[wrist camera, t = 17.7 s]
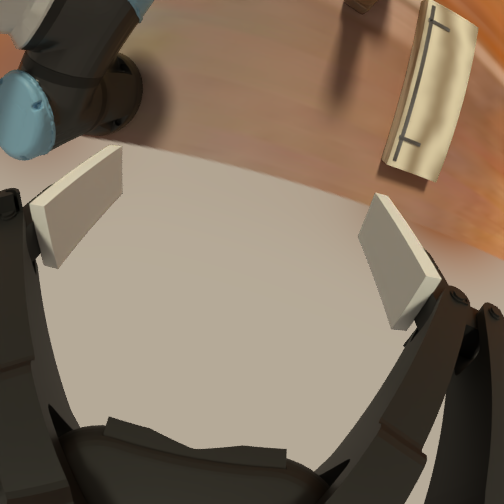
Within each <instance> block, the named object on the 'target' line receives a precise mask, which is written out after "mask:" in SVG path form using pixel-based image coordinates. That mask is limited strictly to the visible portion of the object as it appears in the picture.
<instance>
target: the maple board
mask: <svg viewBox="0 0 504 504" xmlns="http://www.w3.org/2000/svg"><path fill="white" fill-rule="evenodd" d="M477 33H478V27H477V26H475V25H474V24H472V23H470V22H469V21H467V20H466V19H464V18H463V17H461V16H459V15H458V14H456V13H454V12H453V11H451V10H449V9H448V8H446V7H444V6H442V5H440V4H439V3H437V2H435V1H433V0H424V1H421V6H420V11H419V17H418V22H417V27H416V32H415V37H414V42H413V47H412V51H411V55H410V60H409V64H408V68H407V72H406V76H405V80H404V84H403V88H402V92H401V95H400V99H399V103H398V106H397V110H396V113H395V117H394V120H393V123H392V127H391V130H390V133H389V136H388V140H387V143H386V146H385V149H384V152H383V155H382V158H381V160H383V161H384V162H385V163H386V164H387V165H390V166H392V167H395V168H398V169H401V170H404V171H407V172H409V173H412V174H415V175H418V176H420V177H423V178H425V179H428V180H431V181H433V182H436V181H437V179H438V176H439V174H440V171H441V168H442V166H443V163H444V160H445V157H446V154H447V152H448V149H449V146H450V143H451V140H452V137H453V134H454V130H455V127H456V124H457V121H458V117H459V114H460V110H461V107H462V103H463V100H464V96H465V92H466V88H467V84H468V80H469V75H470V71H471V66H472V61H473V56H474V51H475V46H476V40H477Z"/></svg>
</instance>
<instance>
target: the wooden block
mask: <svg viewBox="0 0 504 504" xmlns="http://www.w3.org/2000/svg"><path fill="white" fill-rule="evenodd" d="M377 1H378V0H344V2H345V3H346V4H347V5H349V6H350V7H352V8H353V9H355V10H356V11H358V12H359V13H361V14H364V13H365V12H367V11H369V9H370V8H371V7H372V6H373V5H374V3H375V2H377Z"/></svg>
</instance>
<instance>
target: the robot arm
mask: <svg viewBox="0 0 504 504" xmlns="http://www.w3.org/2000/svg"><path fill="white" fill-rule="evenodd" d="M153 2H154V0H0V33H2V34H8V35H9V36H10V37H11V39H12V41H13V43H14V45H15V47H16V48H17V49H22V50H26V51H25V53H24V55H23V58H22V60H21V62H20V65H19V68H18V69H17V70H12V71H10V72H8V73H7V74H6V75H4V77H3V78H1V79H0V147H1V148H2V149H3V150H4V151H5V152H6V153H7V154H8V155H9V156H11V157H13V158H15V159H18V160H30V159H32V158H35V157H37V156H39V155H45V154H47V153H48V152H49V151H51V150H53V149H55V148H57V147H59V146H60V145H62V144H64V143H66V142H68V141H70V140H72V139H74V138H76V137H79V136H81V135H83V134H86V135H94V136H101V135H107V134H110V133H112V132H115V131H117V130H119V129H121V128H122V127H124V126H125V125H126V124H127V123H129V122H130V120H131V119H132V118H133V117H134V115H135V114H136V112H137V110H138V108H139V105H140V102H141V98H142V79H141V75H140V73H139V70H138V68H137V67H136V65H135V64H134V62H133V61H132V60H131V59H130V58H128V57H127V56H125V55H123V54H121V53H118V52H119V50H120V49H121V47H122V46H123V44H124V43H125V41H126V40H127V38H128V37H129V35H130V34H131V32H132V31H133V30H134V28H135V27H136V25H137V24H138V23H141V21H142V20H143V16H144V14H145V13H146V11H147V10H148V9H149V7H150V6H151V4H152V3H153ZM121 194H122V146H117V145H108V146H107V147H105V148H104V149H102V150H101V151H99V152H98V153H97V154H95V155H93V156H92V157H91V158H89V159H87V160H86V161H84V162H83V163H82V164H80V165H79V166H77V167H76V168H75V169H73V170H72V171H70V172H69V173H68V174H66V175H65V176H64V177H62V178H61V179H60V180H58V181H57V182H56V183H54V184H52V185H50V186H48V187H47V188H46V189H45V190H43V191H42V192H41V193H40V194H38V195H37V197H35V198H33V199H32V200H31V201H30V202H29V203H27V204H26V205H25V206H24V207H22V202H21V197H20V192H19V190H18V189H16V188H9V189H5V190H2V191H0V504H404V503H405V502H406V500H407V498H408V497H409V495H410V493H411V491H412V489H413V488H414V485H415V484H416V482H417V480H418V479H419V477H420V475H421V472H422V470H423V469H424V467H425V464H426V461H427V456H426V455H425V454H424V453H422V448H423V446H424V443H425V441H426V439H427V437H428V435H429V433H430V430H431V428H432V426H433V424H434V421H435V419H436V417H437V414H438V412H439V409H440V407H441V404H442V402H443V399H444V396H445V394H446V398H445V407H444V415H443V422H442V428H441V435H440V440H439V445H438V450H437V455H436V460H435V464H434V469H433V473H432V477H431V481H430V485H429V488H428V492H427V495H426V499H425V502H424V504H504V317H503V315H502V313H501V311H500V309H498V307H496V306H494V305H493V304H490V303H485V304H484V305H483V306H482V307H481V309H480V310H477V309H474V308H472V307H470V302H469V300H468V298H467V296H466V295H465V294H464V293H463V292H462V291H461V290H460V289H458V288H456V287H454V286H449V285H448V284H447V282H446V280H445V278H444V276H443V275H442V273H441V271H440V270H439V269H438V266H437V265H436V263H435V261H434V260H433V258H432V257H431V255H430V254H429V253H428V252H427V251H426V250H425V249H424V248H423V247H422V245H421V244H420V242H419V241H418V239H417V238H416V236H415V235H414V233H413V232H412V230H411V229H410V227H409V226H408V224H407V223H406V221H405V220H404V218H403V217H402V215H401V214H400V212H399V211H398V210H397V208H396V207H395V205H394V204H393V203H392V201H391V200H390V198H389V197H388V196H386V195H382V194H379V193H375V194H374V197H373V200H372V202H371V205H370V207H369V210H368V212H367V215H366V218H365V220H364V222H363V225H362V228H361V230H360V233H359V235H358V238H359V241H360V243H361V246H362V248H363V251H364V253H365V256H366V259H367V261H368V264H369V266H370V269H371V272H372V274H373V277H374V280H375V282H376V285H377V288H378V291H379V294H380V297H381V299H382V302H383V305H384V308H385V311H386V314H387V317H388V320H389V324H390V327H391V329H394V330H405V331H407V329H408V328H409V327H410V325H411V324H412V322H413V321H414V320H415V323H416V326H417V328H416V330H415V331H414V332H413V333H412V335H411V336H410V338H409V339H408V340H407V341H406V342H405V344H404V345H403V346H404V347H405V348H404V350H403V352H402V354H401V355H400V357H399V359H398V361H397V362H396V364H395V366H394V367H393V369H392V371H391V372H390V374H389V375H388V377H387V379H386V380H385V382H384V384H383V385H382V387H381V388H380V390H379V391H378V393H377V395H376V396H375V397H374V399H373V401H372V402H371V403H370V405H369V406H368V408H367V409H366V411H365V412H364V413H363V415H362V416H361V418H360V419H359V421H358V422H357V423H356V425H355V426H354V427H353V429H352V430H351V431H350V433H349V434H348V435H347V436H346V438H345V439H344V440H343V442H342V443H341V444H340V446H339V447H338V448H337V449H336V450H335V452H334V453H333V454H332V455H331V456H330V457H329V458H328V459H327V460H326V461H325V462H324V463H323V464H322V465H321V466H320V467H319V468H318V469H317V470H316V471H314V472H313V471H312V470H311V469H309V468H307V467H305V466H304V465H302V464H299V463H297V462H295V461H292V460H290V459H286V449H276V448H263V447H252V446H234V447H224V448H212V449H193V448H189V447H187V446H185V445H183V444H181V443H178V442H176V441H174V440H172V439H170V438H168V437H166V436H164V435H162V434H160V433H158V432H156V431H154V430H152V429H150V428H146V427H142V426H138V425H135V424H132V423H128V422H124V421H122V420H118V419H115V418H112V417H109V418H108V421H107V424H106V426H104V425H98V426H87V427H82V428H80V426H79V424H78V422H77V421H76V419H75V417H74V415H73V413H72V411H71V409H70V407H69V404H68V401H67V398H66V395H65V392H64V389H63V386H62V382H61V379H60V376H59V372H58V369H57V365H56V362H55V358H54V354H53V350H52V346H51V342H50V338H49V334H48V328H47V324H46V319H45V313H44V308H43V302H42V296H41V289H40V282H39V274H38V266H37V263H36V258H37V257H38V255H39V254H40V253H41V257H42V260H43V264H44V265H45V266H49V267H52V268H56V269H58V268H59V267H60V266H61V264H62V263H63V262H64V261H65V259H66V258H67V257H68V256H69V254H70V253H71V251H73V249H74V248H75V247H76V246H77V244H78V243H79V242H80V241H81V240H82V238H83V237H84V236H85V235H86V234H87V232H88V231H89V230H90V229H91V228H92V227H93V225H94V224H95V223H96V222H97V221H98V220H99V218H100V217H101V216H102V215H103V214H104V213H105V212H106V211H107V210H108V208H109V207H110V206H111V205H112V204H113V203H114V202H115V201H116V200H117V199H118V198H119V196H120V195H121Z"/></svg>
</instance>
